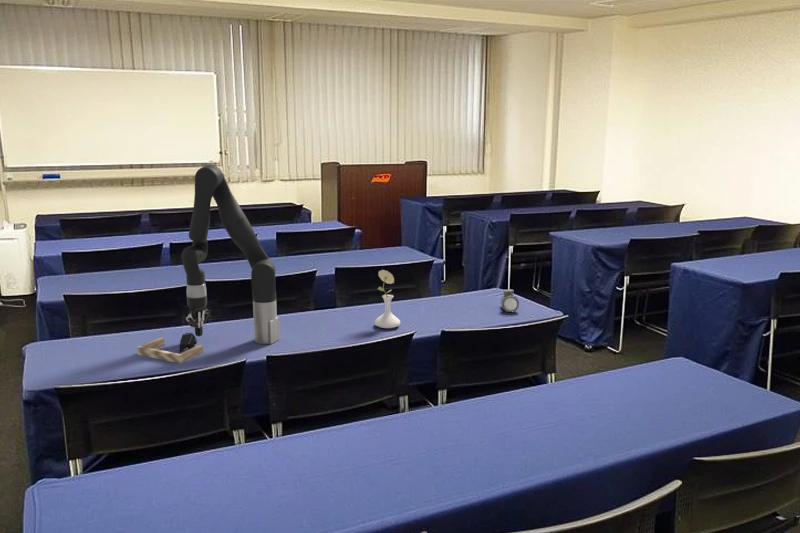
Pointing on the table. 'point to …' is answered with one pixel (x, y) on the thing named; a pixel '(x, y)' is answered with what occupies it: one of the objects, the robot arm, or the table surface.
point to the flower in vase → (387, 304)
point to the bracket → (151, 351)
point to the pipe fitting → (509, 301)
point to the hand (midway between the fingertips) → (199, 335)
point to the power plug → (187, 341)
